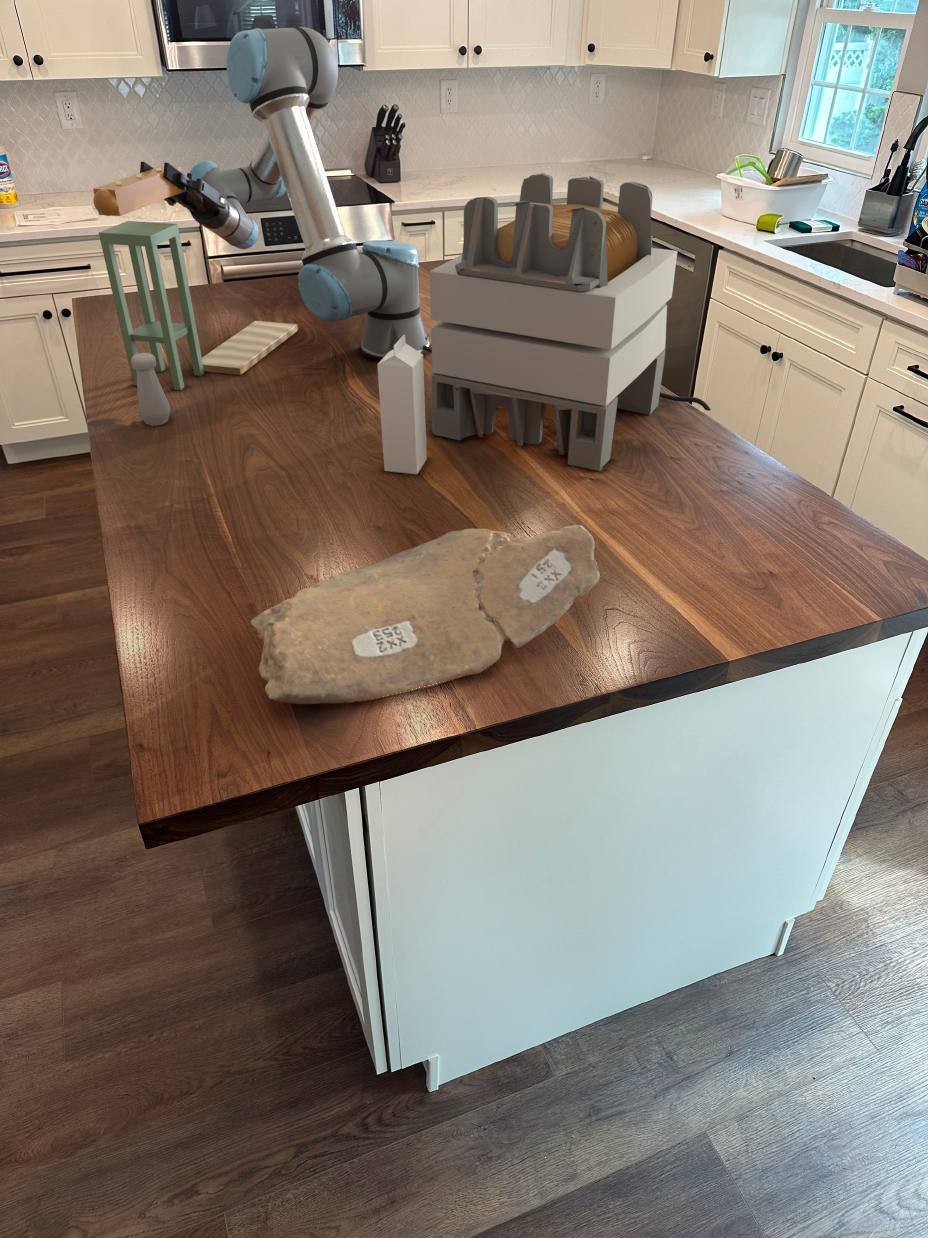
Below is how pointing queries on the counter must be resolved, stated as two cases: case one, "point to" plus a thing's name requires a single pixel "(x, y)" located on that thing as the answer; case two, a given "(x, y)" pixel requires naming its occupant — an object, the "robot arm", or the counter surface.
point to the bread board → (247, 347)
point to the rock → (421, 615)
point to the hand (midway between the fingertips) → (153, 169)
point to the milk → (402, 409)
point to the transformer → (551, 318)
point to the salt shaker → (150, 391)
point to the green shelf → (154, 330)
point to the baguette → (134, 192)
